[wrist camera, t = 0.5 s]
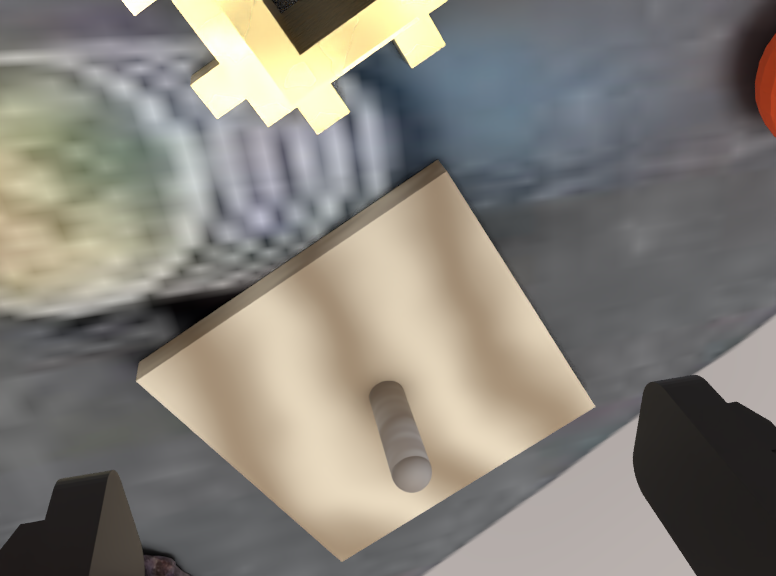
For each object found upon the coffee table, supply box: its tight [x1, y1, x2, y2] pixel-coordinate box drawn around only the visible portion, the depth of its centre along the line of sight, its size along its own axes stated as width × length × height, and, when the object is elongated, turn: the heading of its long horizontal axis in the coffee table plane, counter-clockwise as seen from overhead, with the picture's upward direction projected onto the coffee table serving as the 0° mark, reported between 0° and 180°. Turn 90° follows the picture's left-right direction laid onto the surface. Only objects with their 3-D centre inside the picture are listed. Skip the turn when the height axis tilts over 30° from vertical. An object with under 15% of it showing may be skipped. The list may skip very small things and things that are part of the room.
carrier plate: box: [136, 160, 595, 562], centre depth 35 cm, size 17×17×8 cm
